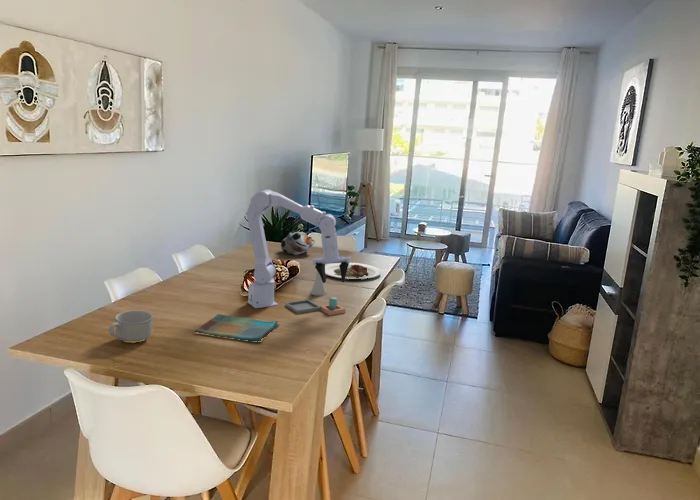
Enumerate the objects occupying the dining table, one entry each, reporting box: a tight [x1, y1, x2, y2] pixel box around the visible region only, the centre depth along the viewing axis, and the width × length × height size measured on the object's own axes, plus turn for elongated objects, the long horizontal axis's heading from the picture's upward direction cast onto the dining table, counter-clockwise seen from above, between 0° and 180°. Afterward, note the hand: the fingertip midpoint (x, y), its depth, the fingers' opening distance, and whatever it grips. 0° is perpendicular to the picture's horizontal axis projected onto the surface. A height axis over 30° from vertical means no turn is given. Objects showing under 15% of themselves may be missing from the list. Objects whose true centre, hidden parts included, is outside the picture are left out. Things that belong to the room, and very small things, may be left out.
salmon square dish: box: [319, 303, 347, 316], centre depth 196 cm, size 7×7×2 cm
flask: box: [310, 270, 328, 297], centre depth 217 cm, size 7×7×10 cm
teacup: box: [108, 310, 154, 341], centre depth 159 cm, size 14×11×8 cm
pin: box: [328, 296, 338, 310], centre depth 196 cm, size 3×3×5 cm
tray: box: [284, 299, 321, 315], centre depth 198 cm, size 10×10×2 cm
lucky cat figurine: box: [280, 231, 316, 256], centre depth 287 cm, size 17×14×16 cm
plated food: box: [325, 262, 382, 280], centre depth 253 cm, size 30×30×3 cm
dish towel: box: [194, 314, 280, 342], centre depth 174 cm, size 17×23×2 cm
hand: (334, 281), depth 196 cm, fingers open, 7 cm apart
